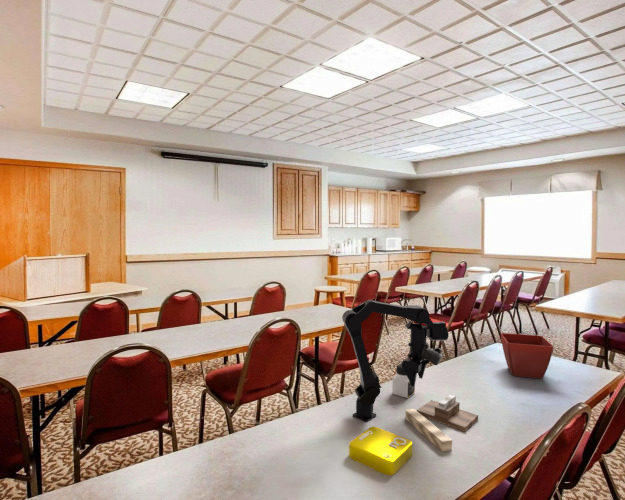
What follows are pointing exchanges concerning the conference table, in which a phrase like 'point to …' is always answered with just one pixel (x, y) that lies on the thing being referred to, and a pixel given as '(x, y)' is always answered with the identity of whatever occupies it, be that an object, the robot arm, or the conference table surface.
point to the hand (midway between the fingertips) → (416, 382)
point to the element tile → (381, 450)
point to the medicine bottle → (402, 384)
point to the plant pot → (526, 354)
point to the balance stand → (448, 413)
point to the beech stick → (429, 430)
